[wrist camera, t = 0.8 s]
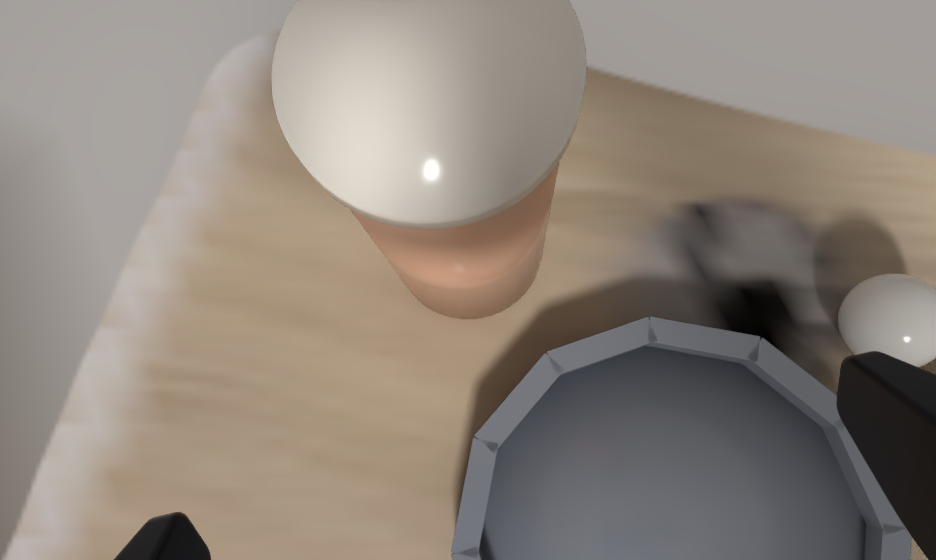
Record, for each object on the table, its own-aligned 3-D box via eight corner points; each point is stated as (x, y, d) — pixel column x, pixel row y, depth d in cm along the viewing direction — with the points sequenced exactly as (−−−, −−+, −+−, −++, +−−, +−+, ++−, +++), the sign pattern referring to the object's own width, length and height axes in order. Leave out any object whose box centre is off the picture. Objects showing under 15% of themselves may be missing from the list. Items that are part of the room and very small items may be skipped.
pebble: (933, 324, 22) (999, 308, 19) (880, 393, 21) (939, 387, 18) (855, 267, 22) (907, 243, 19) (802, 333, 22) (848, 319, 19)
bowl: (965, 515, 20) (999, 523, 19) (707, 873, 19) (724, 910, 17) (631, 253, 23) (639, 241, 21) (379, 549, 21) (369, 558, 20)
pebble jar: (580, 238, 23) (652, 44, 11) (475, 358, 22) (438, 283, 11) (462, 143, 24) (416, -123, 12) (358, 255, 23) (208, 84, 12)
